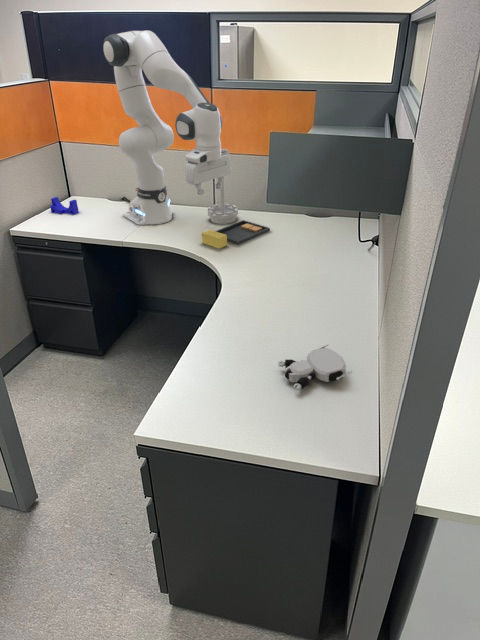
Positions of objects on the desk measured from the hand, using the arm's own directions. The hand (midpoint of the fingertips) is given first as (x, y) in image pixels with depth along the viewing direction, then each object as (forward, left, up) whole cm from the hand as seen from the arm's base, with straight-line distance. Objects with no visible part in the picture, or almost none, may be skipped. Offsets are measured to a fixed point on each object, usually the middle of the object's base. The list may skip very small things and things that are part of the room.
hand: (209, 191), depth 185 cm
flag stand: (-14, +22, -21) cm, 33 cm away
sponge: (+3, -1, -21) cm, 21 cm away
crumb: (+5, +21, -20) cm, 29 cm away
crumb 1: (0, +21, -20) cm, 29 cm away
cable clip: (-78, -17, -21) cm, 82 cm away
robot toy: (+79, -44, -21) cm, 93 cm away
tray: (+3, +14, -21) cm, 25 cm away
